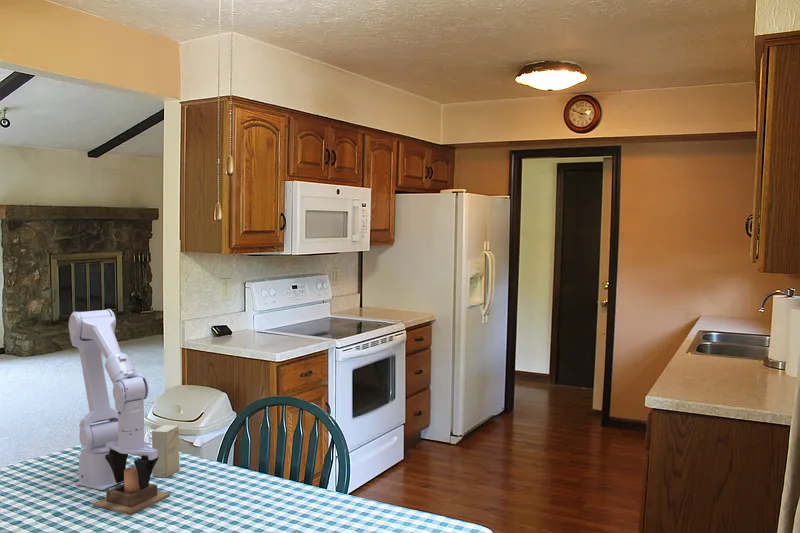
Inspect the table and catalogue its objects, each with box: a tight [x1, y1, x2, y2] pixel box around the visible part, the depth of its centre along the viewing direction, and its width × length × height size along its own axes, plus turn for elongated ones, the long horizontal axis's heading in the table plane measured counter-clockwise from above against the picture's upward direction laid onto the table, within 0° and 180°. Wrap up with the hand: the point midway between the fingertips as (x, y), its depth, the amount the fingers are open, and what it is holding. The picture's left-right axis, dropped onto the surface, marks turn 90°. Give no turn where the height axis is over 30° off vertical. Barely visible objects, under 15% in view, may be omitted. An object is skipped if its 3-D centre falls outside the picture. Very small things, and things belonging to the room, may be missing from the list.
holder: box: [92, 482, 171, 516], centre depth 157 cm, size 12×12×3 cm
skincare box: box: [151, 424, 180, 478], centre depth 175 cm, size 6×4×12 cm
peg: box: [123, 466, 140, 494], centre depth 157 cm, size 4×4×7 cm
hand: (132, 484), depth 157 cm, fingers open, 7 cm apart
